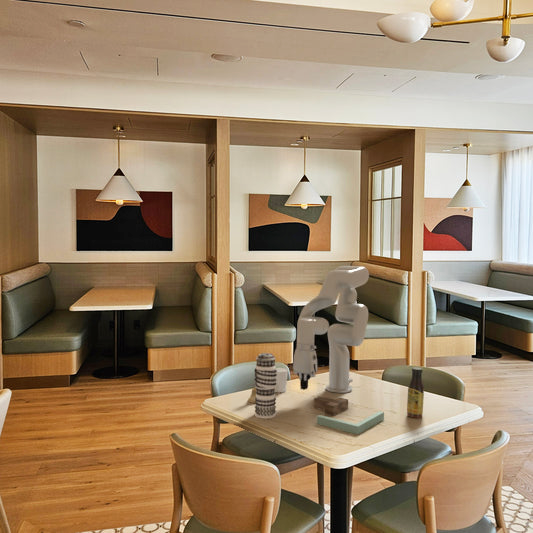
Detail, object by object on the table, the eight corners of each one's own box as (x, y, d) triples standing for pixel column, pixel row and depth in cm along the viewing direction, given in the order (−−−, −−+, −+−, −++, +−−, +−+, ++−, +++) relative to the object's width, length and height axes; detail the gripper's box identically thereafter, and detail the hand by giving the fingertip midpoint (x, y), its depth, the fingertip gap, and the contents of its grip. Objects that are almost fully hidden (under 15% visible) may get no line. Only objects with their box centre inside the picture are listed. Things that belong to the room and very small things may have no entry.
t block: (324, 403, 231) (324, 394, 231) (348, 408, 223) (348, 399, 223) (308, 409, 221) (308, 400, 221) (333, 415, 214) (333, 406, 214)
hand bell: (263, 397, 239) (263, 362, 238) (268, 402, 231) (268, 366, 230) (245, 398, 237) (246, 363, 236) (250, 404, 229) (250, 367, 228)
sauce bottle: (403, 415, 215) (404, 367, 214) (413, 412, 219) (414, 365, 218) (417, 419, 210) (418, 370, 209) (426, 416, 214) (427, 368, 213)
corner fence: (344, 410, 221) (344, 403, 221) (383, 419, 210) (384, 412, 210) (316, 423, 204) (316, 416, 204) (358, 434, 193) (358, 426, 193)
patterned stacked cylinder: (253, 418, 210) (254, 356, 208) (254, 411, 219) (254, 351, 218) (276, 418, 210) (277, 356, 209) (276, 411, 219) (276, 352, 218)
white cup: (287, 393, 246) (287, 372, 245) (270, 393, 246) (270, 371, 246) (287, 388, 254) (287, 368, 253) (270, 388, 254) (271, 367, 253)
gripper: (324, 348, 227) (323, 390, 227) (296, 343, 236) (294, 384, 236) (315, 350, 221) (313, 393, 221) (286, 345, 230) (285, 387, 230)
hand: (304, 388), depth 229 cm, fingers closed
